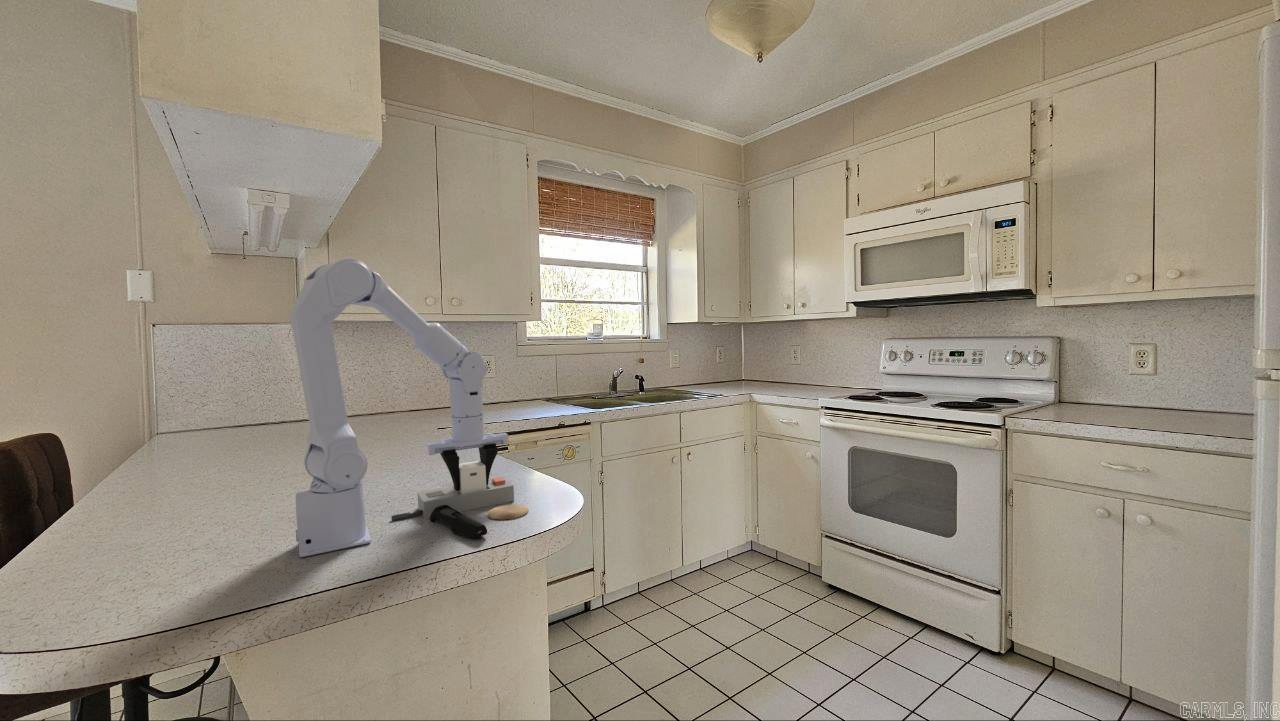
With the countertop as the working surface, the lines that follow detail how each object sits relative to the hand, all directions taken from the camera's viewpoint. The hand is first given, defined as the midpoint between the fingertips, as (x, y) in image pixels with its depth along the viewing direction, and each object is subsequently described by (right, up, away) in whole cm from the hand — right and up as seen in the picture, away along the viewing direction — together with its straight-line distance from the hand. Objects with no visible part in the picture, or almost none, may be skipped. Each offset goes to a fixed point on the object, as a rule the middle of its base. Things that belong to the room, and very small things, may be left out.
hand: (471, 486), depth 102 cm
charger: (0, -1, 0) cm, 1 cm away
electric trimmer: (+2, -5, -12) cm, 13 cm away
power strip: (-3, -3, -2) cm, 5 cm away
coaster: (+8, -3, -6) cm, 11 cm away
